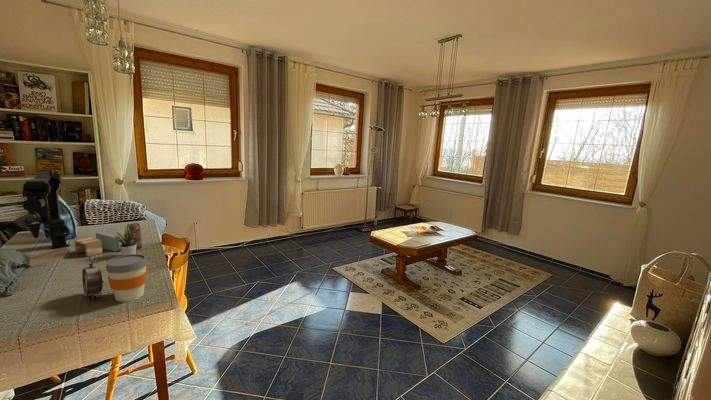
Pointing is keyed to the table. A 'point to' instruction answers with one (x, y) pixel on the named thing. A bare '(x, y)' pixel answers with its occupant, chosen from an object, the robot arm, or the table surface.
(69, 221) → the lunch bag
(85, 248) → the block
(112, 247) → the backstop
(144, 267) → the reusable coffee cup
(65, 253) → the peg
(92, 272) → the alarm clock
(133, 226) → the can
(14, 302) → the table surface
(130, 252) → the house plant
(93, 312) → the table surface
